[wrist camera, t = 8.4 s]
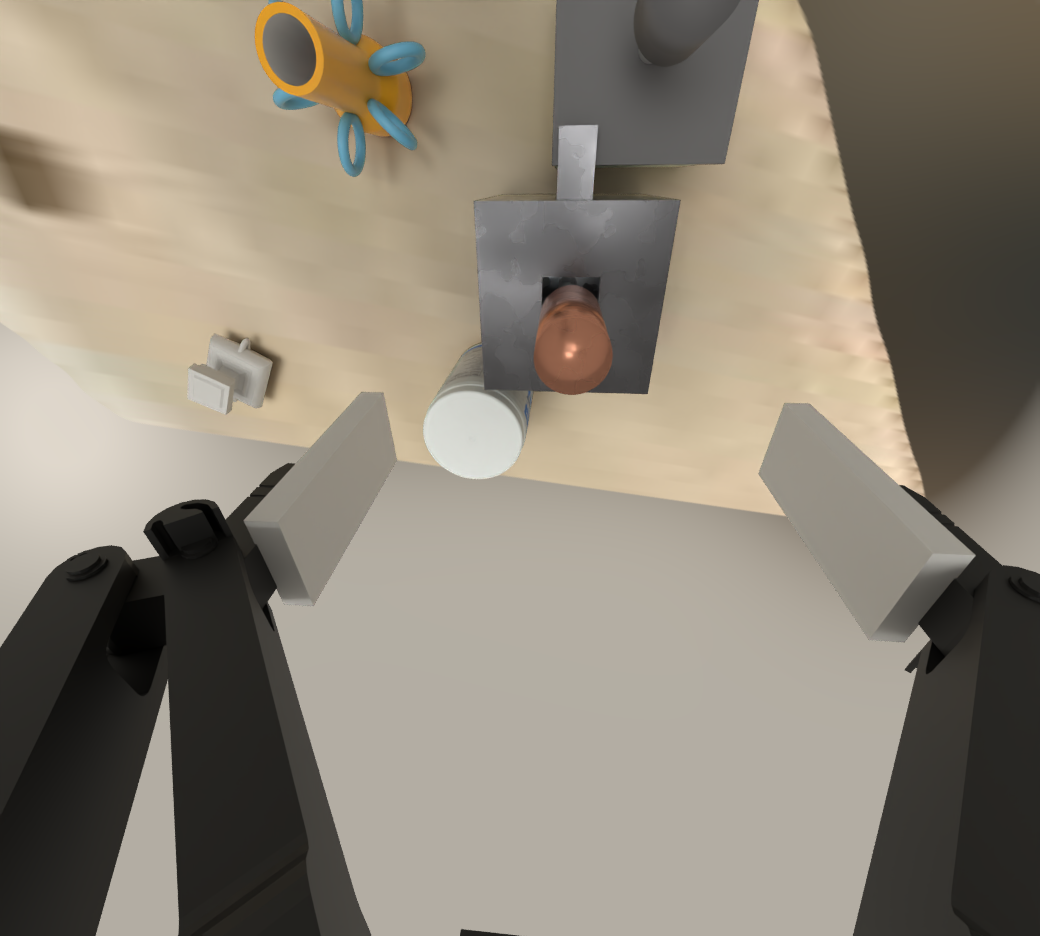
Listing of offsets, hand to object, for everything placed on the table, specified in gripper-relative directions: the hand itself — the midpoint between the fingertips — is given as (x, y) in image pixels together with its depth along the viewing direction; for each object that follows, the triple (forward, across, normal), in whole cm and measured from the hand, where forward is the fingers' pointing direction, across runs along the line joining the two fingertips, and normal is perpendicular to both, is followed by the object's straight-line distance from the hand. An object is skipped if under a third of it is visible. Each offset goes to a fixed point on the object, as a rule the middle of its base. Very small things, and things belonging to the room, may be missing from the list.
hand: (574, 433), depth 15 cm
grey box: (+35, 0, +1) cm, 35 cm away
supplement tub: (+35, -8, -13) cm, 38 cm away
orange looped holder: (+36, -17, +13) cm, 42 cm away
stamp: (+36, -38, -12) cm, 53 cm away
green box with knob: (+35, +4, +13) cm, 38 cm away
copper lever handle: (+28, 0, -1) cm, 28 cm away
